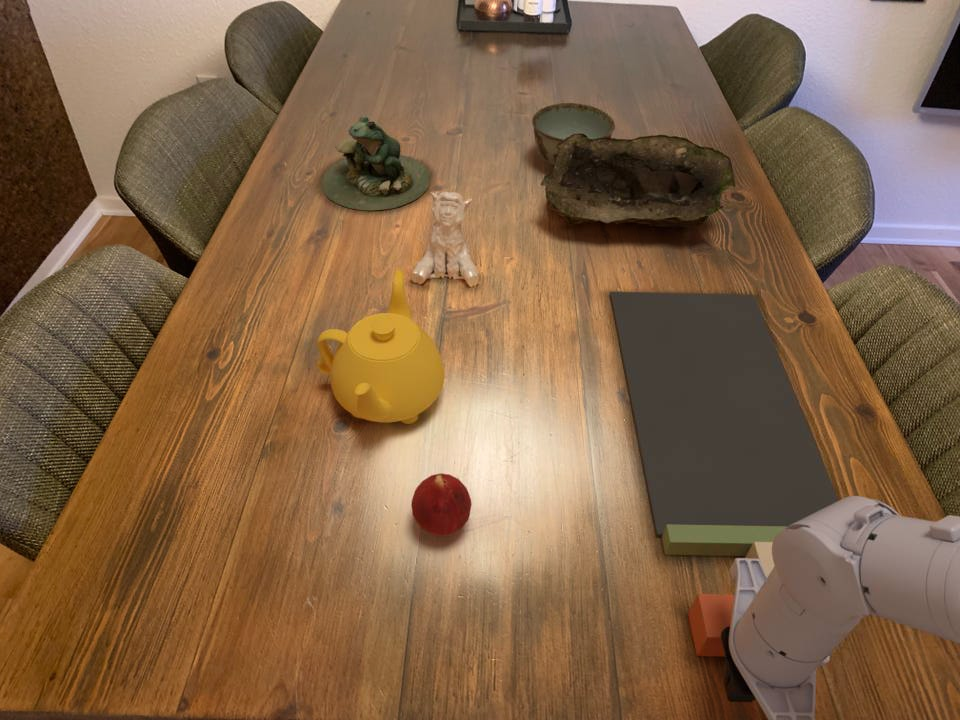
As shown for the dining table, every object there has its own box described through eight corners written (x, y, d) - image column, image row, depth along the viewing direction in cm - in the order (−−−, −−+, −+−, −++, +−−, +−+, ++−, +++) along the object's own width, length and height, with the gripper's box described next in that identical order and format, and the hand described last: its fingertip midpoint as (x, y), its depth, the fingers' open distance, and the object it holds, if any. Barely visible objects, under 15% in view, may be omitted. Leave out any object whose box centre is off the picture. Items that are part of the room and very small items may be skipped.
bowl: (613, 152, 126) (620, 109, 121) (601, 191, 117) (609, 146, 112) (538, 140, 129) (542, 97, 123) (521, 177, 120) (524, 133, 114)
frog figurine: (302, 173, 119) (291, 107, 110) (394, 143, 127) (390, 79, 118) (355, 224, 109) (347, 155, 101) (451, 188, 117) (451, 122, 108)
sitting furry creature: (410, 285, 99) (406, 212, 90) (416, 248, 105) (412, 176, 96) (478, 288, 99) (480, 215, 90) (480, 251, 105) (482, 179, 96)
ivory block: (794, 601, 67) (809, 581, 64) (752, 601, 67) (765, 580, 64) (782, 563, 70) (795, 542, 67) (741, 562, 70) (754, 541, 67)
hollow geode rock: (709, 253, 114) (725, 160, 113) (729, 242, 101) (748, 136, 100) (535, 227, 116) (551, 135, 116) (534, 212, 103) (552, 109, 103)
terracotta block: (740, 657, 63) (754, 638, 61) (696, 656, 63) (707, 637, 61) (729, 614, 66) (742, 594, 63) (687, 613, 66) (697, 593, 63)
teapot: (343, 331, 92) (332, 260, 84) (456, 343, 91) (456, 272, 83) (295, 454, 78) (277, 383, 70) (429, 470, 77) (425, 400, 69)
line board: (859, 558, 71) (870, 545, 69) (659, 555, 70) (665, 541, 69) (752, 297, 99) (758, 283, 97) (609, 294, 99) (612, 280, 97)
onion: (481, 517, 73) (483, 471, 67) (449, 560, 69) (449, 516, 64) (434, 492, 75) (432, 445, 69) (402, 532, 71) (397, 486, 66)
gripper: (893, 735, 44) (814, 793, 54) (816, 529, 54) (761, 609, 64) (780, 734, 44) (721, 792, 54) (725, 528, 54) (683, 608, 64)
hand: (737, 693), depth 59 cm, fingers closed
